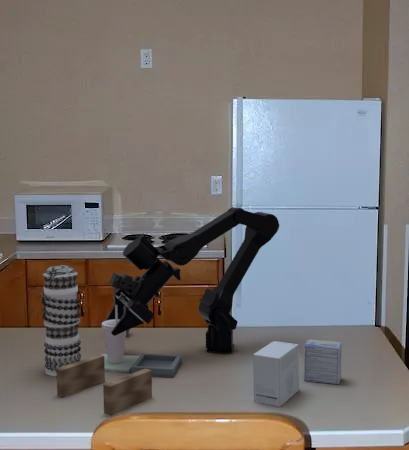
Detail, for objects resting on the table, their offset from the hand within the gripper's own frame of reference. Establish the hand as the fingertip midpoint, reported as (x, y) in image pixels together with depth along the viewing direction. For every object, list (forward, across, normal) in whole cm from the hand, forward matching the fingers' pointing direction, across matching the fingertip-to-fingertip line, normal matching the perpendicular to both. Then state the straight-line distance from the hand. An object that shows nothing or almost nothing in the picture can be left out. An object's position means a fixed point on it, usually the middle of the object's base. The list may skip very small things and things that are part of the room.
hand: (108, 330), depth 157 cm
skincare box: (-14, +32, +27) cm, 44 cm away
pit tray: (-1, +7, +13) cm, 15 cm away
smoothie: (+5, 0, +7) cm, 8 cm away
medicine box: (-24, +28, +37) cm, 52 cm away
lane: (+10, +19, +2) cm, 22 cm away
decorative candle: (+14, 0, -2) cm, 14 cm away
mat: (+5, 0, +7) cm, 9 cm away
